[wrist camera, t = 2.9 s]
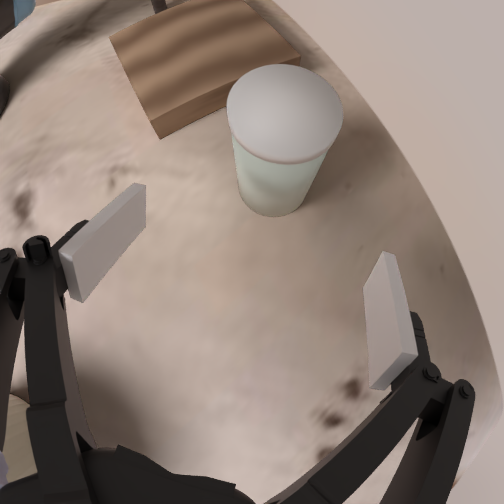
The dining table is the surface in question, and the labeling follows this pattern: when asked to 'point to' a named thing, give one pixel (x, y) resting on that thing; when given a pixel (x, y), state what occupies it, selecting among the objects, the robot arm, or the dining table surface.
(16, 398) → the canister
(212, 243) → the dining table surface
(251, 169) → the domed lid bottle
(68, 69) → the dining table surface
